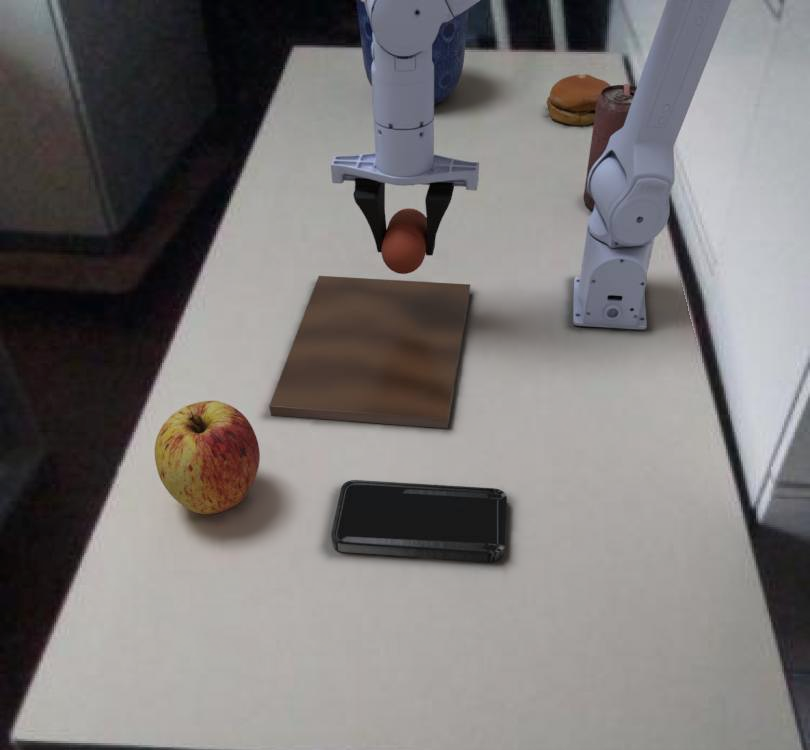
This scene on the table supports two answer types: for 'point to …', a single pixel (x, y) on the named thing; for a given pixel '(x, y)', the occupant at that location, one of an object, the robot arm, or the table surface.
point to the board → (375, 352)
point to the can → (607, 124)
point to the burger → (575, 99)
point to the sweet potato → (405, 241)
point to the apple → (207, 456)
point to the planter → (444, 51)
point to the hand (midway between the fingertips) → (406, 249)
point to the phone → (420, 520)
